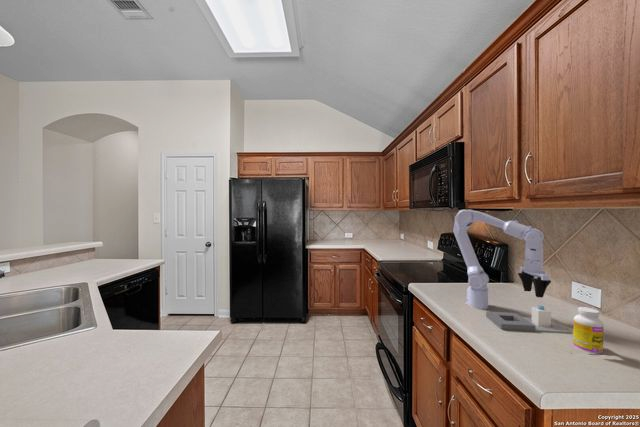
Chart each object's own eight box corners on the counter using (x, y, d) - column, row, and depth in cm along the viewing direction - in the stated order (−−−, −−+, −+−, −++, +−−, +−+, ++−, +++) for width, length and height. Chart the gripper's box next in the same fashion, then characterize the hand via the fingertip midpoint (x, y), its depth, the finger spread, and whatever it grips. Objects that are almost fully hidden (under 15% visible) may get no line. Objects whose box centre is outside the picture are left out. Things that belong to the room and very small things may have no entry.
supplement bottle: (593, 357, 81) (593, 314, 81) (567, 347, 88) (568, 306, 87) (608, 354, 83) (609, 312, 83) (582, 344, 89) (583, 304, 89)
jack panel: (486, 318, 110) (486, 311, 110) (546, 321, 107) (546, 314, 107) (501, 332, 98) (501, 323, 98) (570, 336, 95) (570, 327, 95)
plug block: (531, 325, 104) (531, 304, 104) (543, 325, 103) (543, 304, 103) (538, 329, 100) (538, 308, 100) (550, 330, 99) (550, 308, 99)
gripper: (558, 263, 100) (557, 300, 101) (533, 256, 115) (533, 289, 115) (536, 263, 101) (536, 299, 102) (515, 256, 116) (514, 288, 116)
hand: (533, 294), depth 108 cm, fingers open, 7 cm apart
